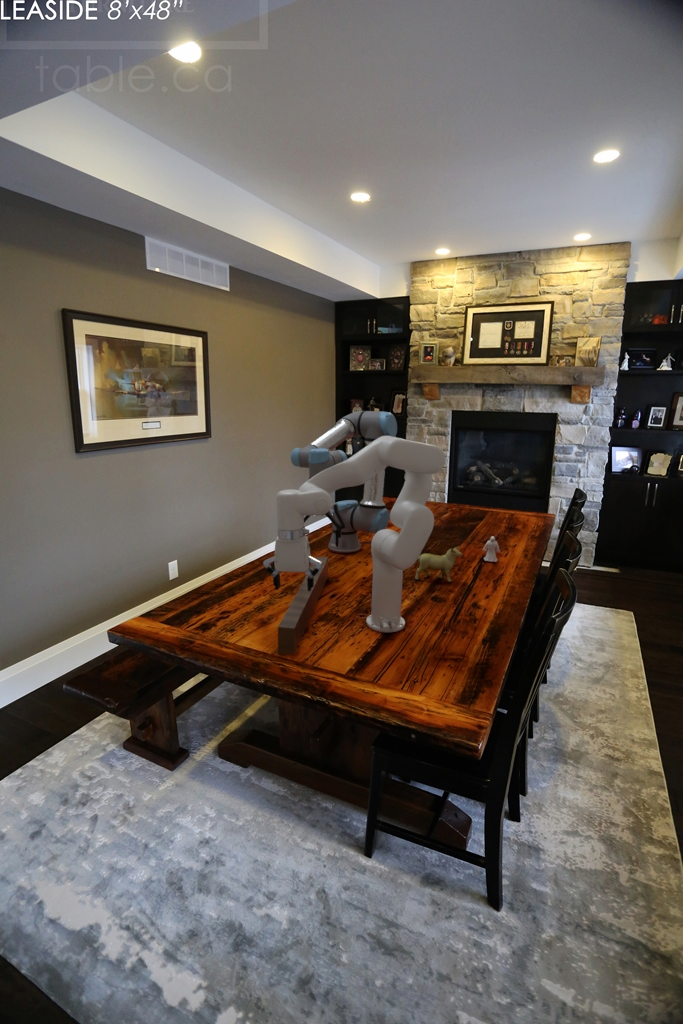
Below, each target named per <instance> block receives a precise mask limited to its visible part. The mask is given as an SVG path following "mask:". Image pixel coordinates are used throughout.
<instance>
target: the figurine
mask: <svg viewBox="0 0 683 1024" xmlns="http://www.w3.org/2000/svg"><path fill="white" fill-rule="evenodd" d="M482 551H483V552H486V554H485V556H484V557H483V560H484V561H485V562H495V563H498V558H497V554H496V553H498V554H499V553H501V550H500V547H499V543H498V541H497V540H496V538H495V536H493V535H492V536H490V539H489V540H487V542H486V543H485V544H484V546H483V548H482Z"/></svg>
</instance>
